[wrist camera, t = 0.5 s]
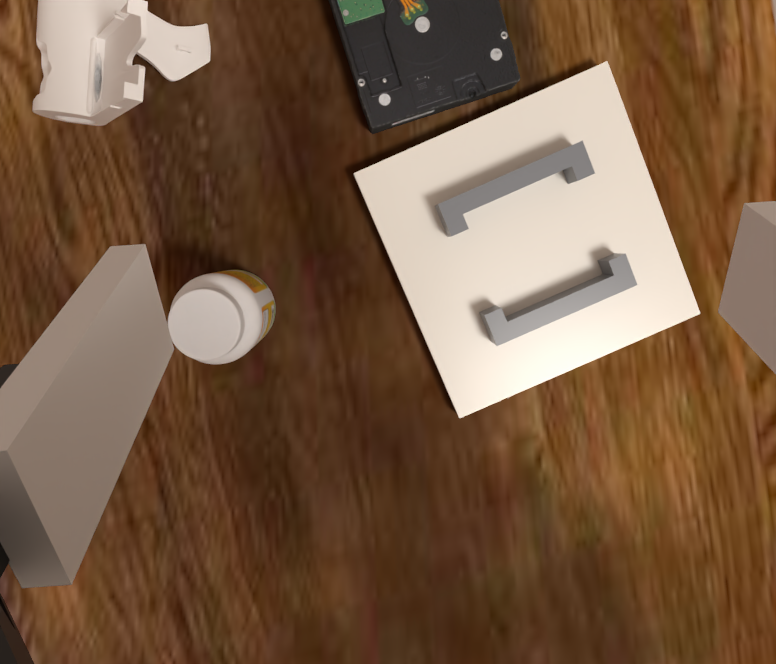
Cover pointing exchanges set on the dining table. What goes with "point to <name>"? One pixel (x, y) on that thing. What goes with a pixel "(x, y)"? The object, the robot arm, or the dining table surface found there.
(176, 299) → the supplement bottle
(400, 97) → the disk drive
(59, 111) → the plastic part
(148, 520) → the dining table surface
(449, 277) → the bottle holder
